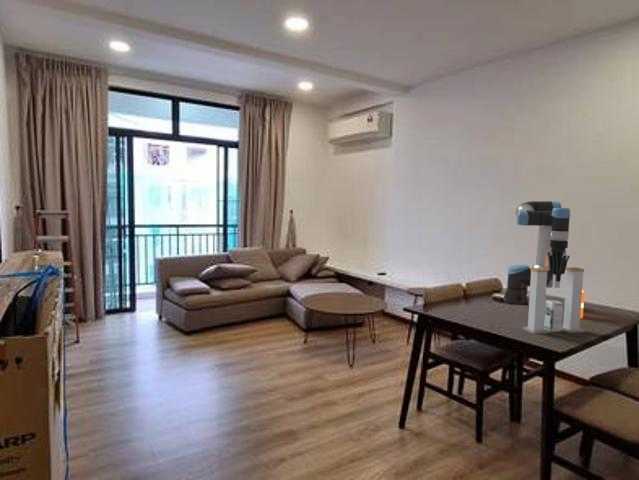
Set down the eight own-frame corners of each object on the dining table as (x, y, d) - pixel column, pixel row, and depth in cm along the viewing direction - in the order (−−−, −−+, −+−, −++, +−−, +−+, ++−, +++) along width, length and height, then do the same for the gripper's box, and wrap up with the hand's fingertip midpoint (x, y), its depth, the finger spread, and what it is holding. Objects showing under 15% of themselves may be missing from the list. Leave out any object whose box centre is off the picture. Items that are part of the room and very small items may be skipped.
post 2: (569, 332, 205) (573, 269, 202) (558, 327, 213) (562, 267, 210) (584, 332, 206) (588, 269, 203) (572, 327, 214) (576, 267, 211)
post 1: (532, 333, 203) (536, 270, 200) (523, 328, 211) (526, 267, 208) (548, 333, 204) (552, 270, 201) (537, 328, 211) (541, 267, 208)
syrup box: (543, 328, 211) (545, 300, 210) (554, 328, 212) (556, 300, 210) (550, 332, 205) (552, 303, 204) (561, 331, 206) (563, 302, 205)
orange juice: (581, 314, 238) (584, 280, 236) (582, 318, 230) (585, 282, 228) (565, 313, 241) (568, 278, 239) (566, 316, 233) (568, 281, 232)
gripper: (543, 238, 210) (540, 284, 212) (561, 241, 197) (557, 290, 199) (557, 238, 211) (554, 284, 213) (575, 241, 198) (572, 290, 200)
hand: (556, 287), depth 206 cm, fingers closed
